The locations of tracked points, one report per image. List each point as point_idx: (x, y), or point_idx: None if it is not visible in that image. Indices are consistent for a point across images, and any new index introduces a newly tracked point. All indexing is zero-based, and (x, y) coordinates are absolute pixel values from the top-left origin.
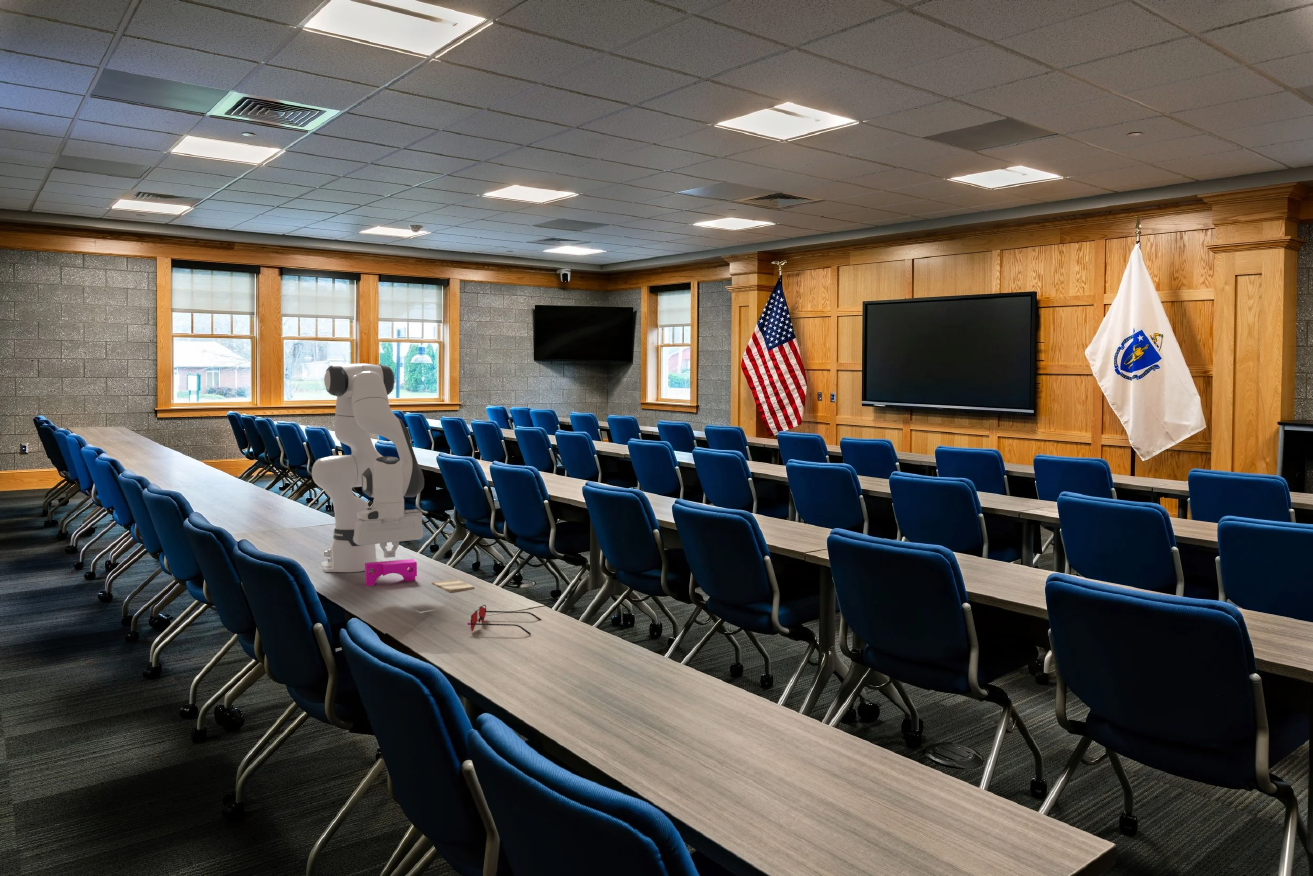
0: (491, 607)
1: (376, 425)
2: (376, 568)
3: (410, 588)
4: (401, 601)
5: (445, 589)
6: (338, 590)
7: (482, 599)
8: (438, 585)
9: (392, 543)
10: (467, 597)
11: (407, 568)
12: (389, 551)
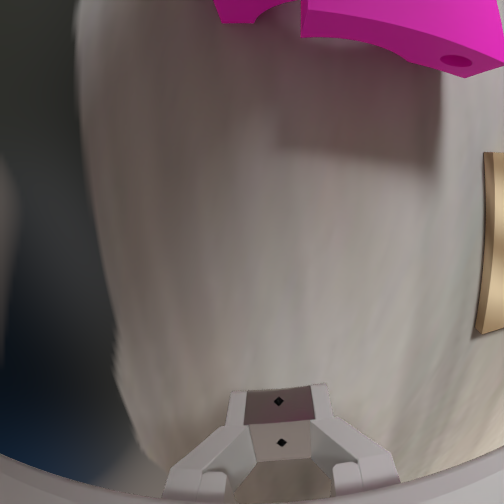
0: None
1: None
2: None
3: (405, 137)
4: (294, 365)
5: (485, 292)
6: (104, 30)
7: (481, 416)
8: (493, 226)
9: (332, 489)
10: (476, 387)
11: (446, 54)
12: (277, 450)
